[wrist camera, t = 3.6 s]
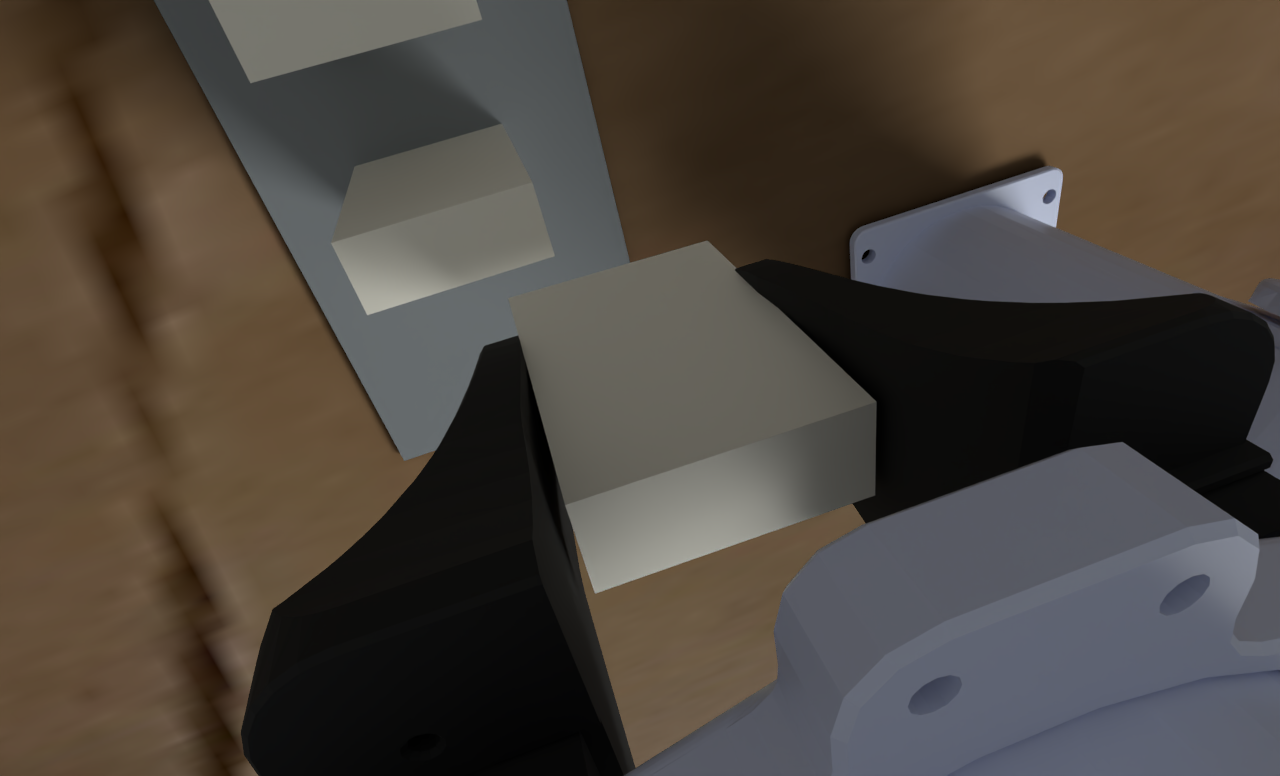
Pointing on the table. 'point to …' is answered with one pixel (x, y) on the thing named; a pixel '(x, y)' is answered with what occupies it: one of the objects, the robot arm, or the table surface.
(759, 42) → the table surface
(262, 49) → the domino
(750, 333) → the domino
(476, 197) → the domino
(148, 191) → the table surface
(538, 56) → the mat
